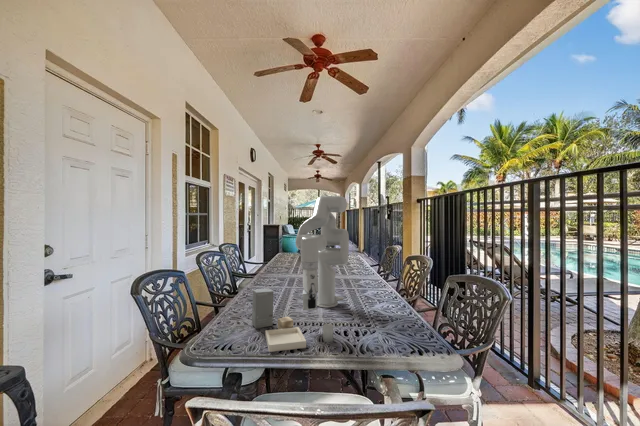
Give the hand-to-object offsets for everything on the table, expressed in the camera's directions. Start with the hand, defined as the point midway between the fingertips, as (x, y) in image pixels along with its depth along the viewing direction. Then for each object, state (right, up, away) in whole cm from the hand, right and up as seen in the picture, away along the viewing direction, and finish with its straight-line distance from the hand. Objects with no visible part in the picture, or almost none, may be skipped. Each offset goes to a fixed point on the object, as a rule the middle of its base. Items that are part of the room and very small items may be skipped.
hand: (309, 304), depth 130 cm
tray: (-9, -11, -13) cm, 19 cm away
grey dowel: (+8, -11, -11) cm, 17 cm away
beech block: (-10, -11, -2) cm, 15 cm away
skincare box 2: (0, -2, 0) cm, 2 cm away
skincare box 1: (-22, -11, +5) cm, 24 cm away
